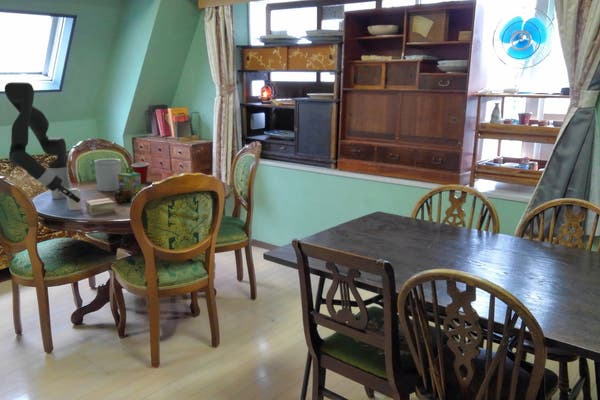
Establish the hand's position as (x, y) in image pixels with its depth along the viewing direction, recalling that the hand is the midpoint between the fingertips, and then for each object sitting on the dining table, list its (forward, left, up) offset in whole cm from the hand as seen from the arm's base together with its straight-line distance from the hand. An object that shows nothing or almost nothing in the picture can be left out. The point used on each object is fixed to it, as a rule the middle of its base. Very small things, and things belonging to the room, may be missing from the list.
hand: (77, 200), depth 254 cm
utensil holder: (-47, -5, -5) cm, 47 cm away
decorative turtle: (-16, +17, -5) cm, 24 cm away
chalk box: (-37, +12, -5) cm, 39 cm away
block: (+4, +14, -4) cm, 15 cm away
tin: (+1, -1, -4) cm, 5 cm away
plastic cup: (-68, +6, -5) cm, 68 cm away
